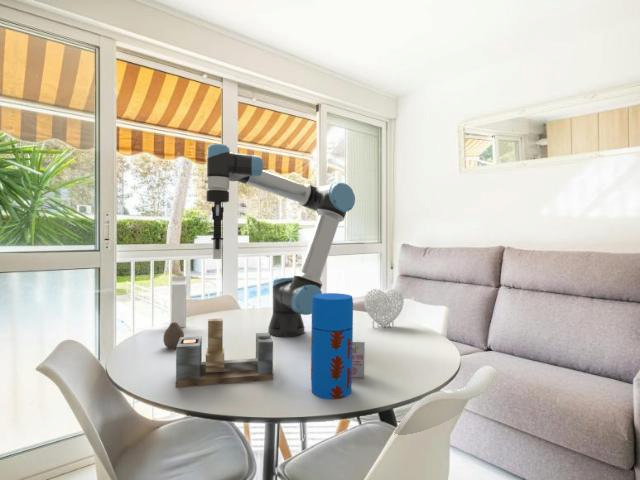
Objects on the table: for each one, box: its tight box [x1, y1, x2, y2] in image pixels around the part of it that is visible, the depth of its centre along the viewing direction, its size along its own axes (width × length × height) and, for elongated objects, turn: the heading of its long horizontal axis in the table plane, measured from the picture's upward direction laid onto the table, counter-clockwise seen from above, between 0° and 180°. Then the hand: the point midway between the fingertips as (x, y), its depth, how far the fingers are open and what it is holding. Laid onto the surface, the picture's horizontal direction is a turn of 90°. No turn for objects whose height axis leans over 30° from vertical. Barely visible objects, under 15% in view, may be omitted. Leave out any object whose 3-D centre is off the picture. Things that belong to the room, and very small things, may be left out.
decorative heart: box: [363, 288, 405, 328], centre depth 172 cm, size 18×11×17 cm, turn 97°
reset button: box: [183, 339, 196, 344], centre depth 108 cm, size 3×3×2 cm
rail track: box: [175, 332, 274, 388], centre depth 111 cm, size 26×12×11 cm, turn 104°
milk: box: [170, 275, 187, 328], centre depth 169 cm, size 6×6×22 cm
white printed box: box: [352, 341, 366, 380], centre depth 112 cm, size 4×7×10 cm, turn 85°
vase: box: [163, 322, 185, 350], centre depth 137 cm, size 7×7×9 cm
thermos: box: [310, 292, 354, 400], centre depth 101 cm, size 11×11×25 cm
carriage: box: [205, 318, 225, 372], centre depth 110 cm, size 5×7×14 cm
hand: (217, 258), depth 132 cm, fingers closed
